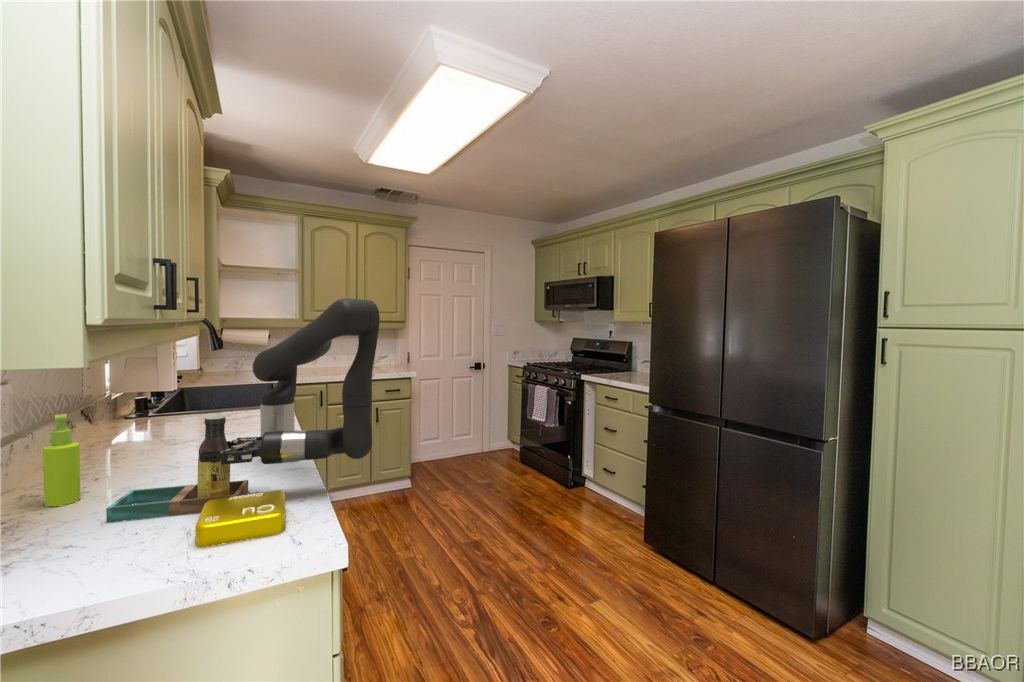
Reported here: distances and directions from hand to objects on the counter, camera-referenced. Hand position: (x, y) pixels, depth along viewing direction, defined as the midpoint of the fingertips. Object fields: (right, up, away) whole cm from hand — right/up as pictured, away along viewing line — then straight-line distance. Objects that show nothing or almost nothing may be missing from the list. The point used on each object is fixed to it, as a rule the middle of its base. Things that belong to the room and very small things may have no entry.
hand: (206, 451), depth 102 cm
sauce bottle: (+1, -12, +1) cm, 12 cm away
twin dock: (-5, -12, -1) cm, 13 cm away
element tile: (+15, -13, -10) cm, 22 cm away
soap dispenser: (-34, -12, +1) cm, 36 cm away
